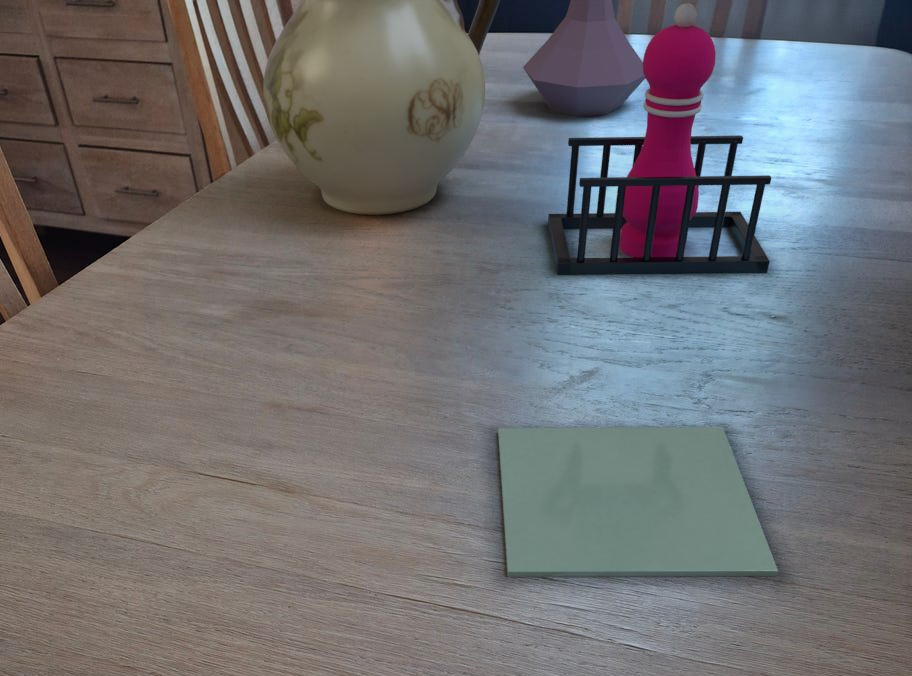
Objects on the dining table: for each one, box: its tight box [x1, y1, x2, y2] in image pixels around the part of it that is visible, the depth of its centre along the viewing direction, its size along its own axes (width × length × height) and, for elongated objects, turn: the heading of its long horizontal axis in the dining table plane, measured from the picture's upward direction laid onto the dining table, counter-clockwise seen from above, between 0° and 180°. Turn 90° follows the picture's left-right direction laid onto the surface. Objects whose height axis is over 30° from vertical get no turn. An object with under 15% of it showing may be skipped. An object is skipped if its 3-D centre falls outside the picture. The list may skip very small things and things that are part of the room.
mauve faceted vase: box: [522, 0, 646, 118], centre depth 119 cm, size 16×16×20 cm
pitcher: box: [262, 0, 501, 216], centre depth 95 cm, size 22×24×25 cm
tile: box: [497, 426, 779, 578], centre depth 62 cm, size 16×16×1 cm
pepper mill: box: [619, 2, 717, 257], centre depth 85 cm, size 7×7×20 cm
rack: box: [547, 135, 772, 276], centre depth 89 cm, size 19×12×8 cm, turn 89°
